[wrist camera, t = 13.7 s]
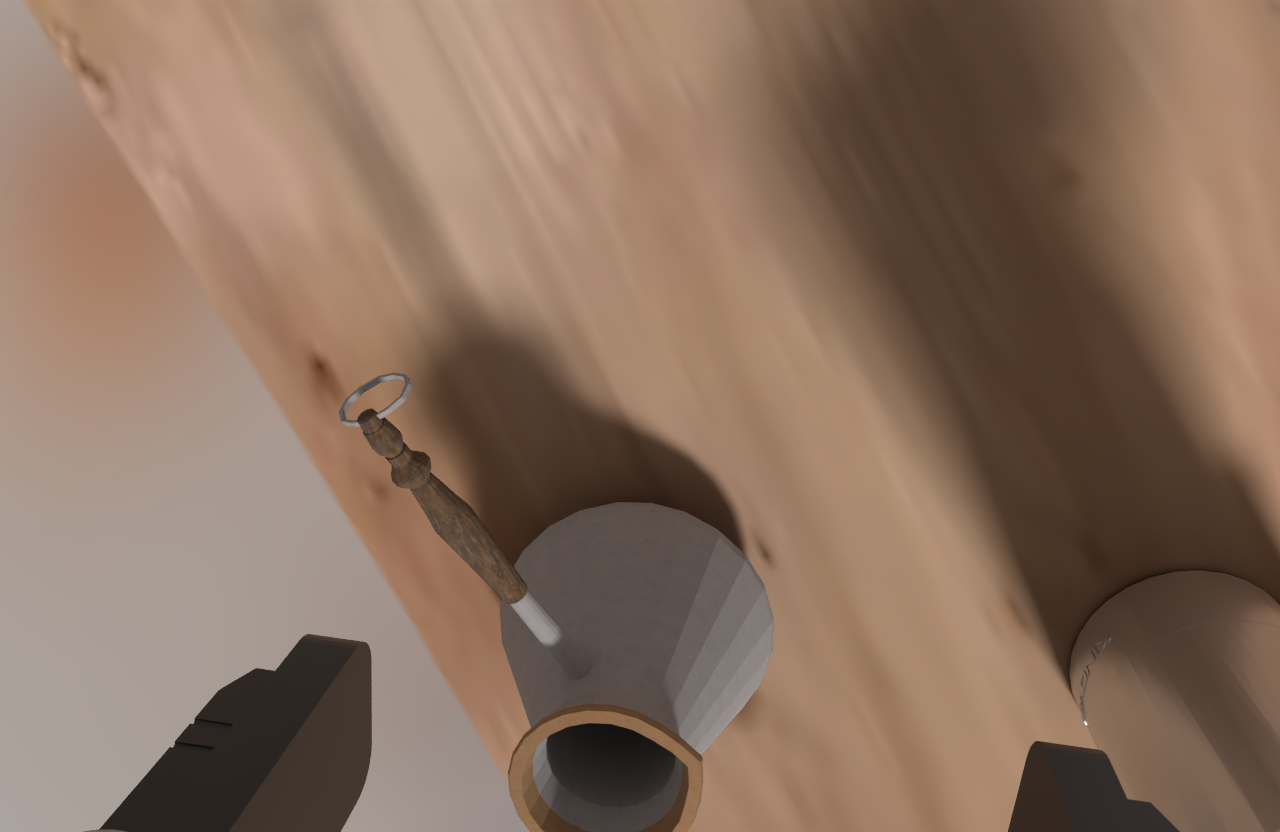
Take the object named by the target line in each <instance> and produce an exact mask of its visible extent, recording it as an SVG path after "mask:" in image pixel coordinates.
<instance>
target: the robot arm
mask: <svg viewBox="0 0 1280 832" xmlns="http://www.w3.org/2000/svg"><path fill="white" fill-rule="evenodd" d="M1069 674H1070V682H1071V689H1072V693H1073V695H1074V698H1075V700H1076V703H1077V705H1078V708H1079V710H1080V712H1081V714H1082V718H1083V721H1084V723H1085V725H1086V726H1087V727H1088V729H1089V731H1090V733H1091V736H1092V738H1093V740H1094V742H1095V744H1096V746H1097V748H1098V750H1096V749H1089V748H1082V747H1075V746H1068V745H1061V744H1054V743H1047V742H1040V741H1036V742H1034V743H1033V744H1032V746H1031V748H1030V750H1029V752H1028V755H1027V759H1026V762H1025V766H1024V770H1023V774H1022V778H1021V782H1020V786H1019V790H1018V794H1017V798H1016V802H1015V806H1014V810H1013V814H1012V818H1011V822H1010V825H1009V829H1008V832H1280V605H1279V604H1278V603H1277V602H1276V601H1275V600H1274V599H1273V598H1272V597H1271V596H1270V595H1269V594H1268V593H1267V592H1266V591H1264V590H1262V589H1260V588H1259V587H1257V586H1255V585H1253V584H1252V583H1250V582H1248V581H1247V580H1243V579H1240V578H1237V577H1234V576H1231V575H1228V574H1225V573H1218V572H1210V571H1202V570H1195V571H1178V572H1171V573H1167V574H1163V575H1159V576H1154V577H1150V578H1148V579H1146V580H1143V581H1141V582H1138V583H1136V584H1134V585H1131V586H1129V587H1127V588H1126V589H1124V590H1123V591H1121V592H1119V593H1118V594H1116V595H1115V596H1113V597H1112V598H1110V599H1109V600H1107V601H1106V602H1105V603H1104V604H1103V605H1102V606H1101V607H1100V608H1099V609H1098V610H1097V611H1096V612H1095V613H1094V614H1093V615H1092V616H1091V617H1090V619H1089V620H1088V622H1087V623H1086V625H1085V626H1084V628H1083V629H1082V631H1081V632H1080V633H1079V636H1078V638H1077V641H1076V643H1075V646H1074V648H1073V651H1072V655H1071V663H1070V670H1069ZM371 714H372V713H371V652H370V648H369V645H368V644H367V643H366V642H360V641H353V640H346V639H339V638H333V637H326V636H319V635H311V634H307V635H305V636H303V637H302V638H301V640H299V642H298V643H297V644H296V646H295V647H294V648H293V649H292V651H291V652H290V653H289V654H288V656H287V657H286V658H285V659H284V661H283V662H282V663H281V665H280V666H279V667H278V668H277V669H276V671H271V670H265V669H257V668H256V669H254V670H252V671H251V672H249V673H247V674H246V675H244V676H242V677H241V678H239V679H237V680H235V681H234V682H232V683H230V684H229V685H227V686H225V687H223V688H222V689H220V690H219V691H218V692H217V693H216V694H215V695H214V697H213V698H212V699H211V700H210V701H209V702H208V704H207V705H206V706H205V707H204V708H203V709H202V710H201V712H200V713H199V714H198V715H197V716H196V718H195V722H194V724H189V726H188V727H187V728H186V729H185V730H184V731H183V733H182V734H181V735H180V736H179V737H178V738H177V740H176V741H175V745H174V747H173V748H171V747H170V748H169V749H168V750H167V751H166V752H165V754H164V755H163V756H162V757H161V758H160V759H159V761H158V762H157V763H156V764H155V765H154V766H153V768H152V769H151V770H150V771H149V772H148V774H147V775H146V776H145V777H144V778H143V779H142V780H141V781H140V783H139V784H138V785H137V786H136V787H135V789H134V790H133V791H132V792H131V793H130V794H129V795H128V797H127V798H126V799H125V800H124V801H123V802H122V804H121V805H120V806H119V807H118V808H117V809H116V811H115V812H114V813H113V814H112V815H111V816H110V818H109V819H108V820H107V821H106V822H105V823H104V825H103V826H102V827H101V828H100V829H99V830H92V831H85V832H341V830H342V828H343V826H344V825H345V823H346V821H347V819H348V817H349V815H350V814H351V812H352V810H353V808H354V806H355V805H356V803H357V801H358V799H359V797H360V795H361V792H362V789H363V787H364V784H365V781H366V777H367V773H368V769H369V764H370V757H371V746H372V745H371V744H372V738H371V737H372V733H371V732H372V729H371V727H372V726H371V725H372V724H371V722H372V720H371V718H372V717H371V716H372V715H371Z"/></svg>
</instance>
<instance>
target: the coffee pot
mask: <svg viewBox="0 0 1280 832" xmlns="http://www.w3.org/2000/svg"><path fill="white" fill-rule="evenodd" d="M394 379H398V380H405V383H406V385H405V387H404V389H403V391H402V393H401V395H400V397H399V398H397V399H396V400H395V401H394V402H393V403H391V404H390V405H389V406H388V407H387V408H385V409H383V410H382V411H380V412H378V413H377V412H376V411H375V410H374V409H367V410H365V411H364V412H362V413H361V414H360V415H359V417H358V419H357V420H355V421H353V420H346V416H345V414H346V412H347V410H348V409H349V407H350V405H351V403H352V402H354V401H355V400H356V399H357V398H358V397H359V396H360V395H362V394H363V393H364V392H365V391H367V390H369V389H370V388H372V387H374V386H375V385H377V384H379V383H381V382H385V381H390V380H394ZM411 388H412V386H411V383H410V380H409V378H408V377H407V376H406V375H405V374H399V373H391V374H386V375H382V376H378V377H376V378H374V379H372V380H371V381H369V382H367V383H366V384H364V385H362V386H361V387H359V388H358V389H357V390H356V391H355V392H354V393H352V394H351V395H350V396H349V397H348V398H347V399H346V400H345V402H344V404H343V405H342V407H341V409H340V411H339V414H340V418H341V422H342V423H343V424H344V425H346V426H352V427H359V426H360V427H361V428H362V430H363V434H364V436H365V437H366V439H367V441H368V442H369V444H370V445H371V447H372V449H373V450H374V451H375V452H376V453H377V454H379V455H381V456H384V457H385V458H386V459H387V460H388V462H389V463H390V464H391V465H392V471H391V477H392V481H393V482H394V483H395V484H396V486H398V487H401V488H410V490H411V491H412V493H413V494H414V496H415V498H416V499H417V501H418V503H419V504H420V506H421V507H422V509H423V511H424V512H425V514H426V515H427V517H428V519H429V520H430V522H431V524H432V526H433V528H434V530H435V531H436V532H437V534H438V535H439V536H440V537H441V538H442V539H443V540H444V541H445V542H446V543H447V544H448V545H449V546H450V547H451V548H452V549H453V550H454V551H455V552H456V553H457V554H458V555H459V556H460V557H461V558H462V559H463V560H464V561H465V562H466V563H467V564H468V565H469V566H470V567H471V568H472V569H473V570H474V571H475V572H476V573H477V574H478V575H479V576H480V577H481V578H482V579H483V580H484V581H485V582H486V583H487V584H488V585H489V586H490V587H491V588H492V589H493V590H494V591H495V592H496V593H497V594H498V595H499V596H500V597H501V598H502V603H501V607H500V618H501V631H502V643H503V646H504V649H505V652H506V655H507V658H508V661H509V664H510V667H511V670H512V673H513V676H514V679H515V681H516V684H517V687H518V690H519V693H520V696H521V699H522V702H523V705H524V708H525V711H526V714H527V717H528V720H529V723H530V726H531V729H530V730H529V731H528V732H526V733H525V734H524V736H523V737H522V739H521V740H520V742H519V744H518V745H517V747H516V748H515V750H514V751H513V754H512V758H511V763H510V767H509V771H508V776H509V789H510V796H511V799H512V801H513V804H514V806H515V809H516V811H517V814H518V816H519V817H520V819H521V820H522V821H523V822H524V824H525V825H526V827H527V828H528V829H529V831H530V832H687V831H688V830H689V828H690V827H691V826H692V824H693V823H694V820H695V817H696V814H697V811H698V808H699V805H700V802H701V794H702V786H703V758H702V756H701V754H702V753H703V752H704V751H705V749H706V748H707V747H708V746H709V745H710V744H711V743H712V742H713V741H714V739H715V738H716V737H717V736H718V735H719V734H720V733H721V732H722V731H723V729H724V728H725V727H726V726H727V725H728V724H729V723H730V722H731V720H732V719H733V718H734V717H735V716H736V715H737V714H738V713H739V712H740V710H741V709H742V708H743V707H744V706H745V704H746V703H747V701H748V700H749V699H750V697H751V696H752V695H753V693H754V692H755V690H756V689H757V688H758V686H759V685H760V684H761V682H762V679H763V676H764V673H765V670H766V667H767V664H768V662H769V659H770V656H771V653H772V650H773V615H772V611H771V608H770V604H769V601H768V597H767V593H766V590H765V586H764V584H763V582H762V581H761V579H760V578H759V576H758V574H757V573H756V571H755V570H754V568H753V566H752V565H751V563H750V562H749V560H748V558H747V557H746V555H745V554H744V553H743V552H742V551H741V550H740V549H739V548H737V547H736V546H735V545H734V544H733V543H732V542H731V541H730V540H729V539H728V538H727V537H726V536H725V535H723V534H722V533H721V532H720V531H719V530H717V529H716V528H714V527H712V526H711V525H709V524H707V523H705V522H703V521H701V520H700V519H698V518H696V517H694V516H692V515H690V514H689V513H687V512H685V511H681V510H677V509H673V508H670V507H666V506H662V505H658V504H655V503H639V502H615V503H611V504H606V505H602V506H597V507H593V508H588V509H584V510H579V511H578V512H576V513H574V514H572V515H570V516H568V517H566V518H564V519H562V520H560V521H558V522H556V523H554V524H552V525H550V526H549V527H548V528H547V529H546V530H545V531H543V532H542V533H541V534H540V535H539V536H538V537H537V538H536V539H535V540H534V541H533V542H532V543H531V544H530V545H529V546H527V547H526V548H525V549H524V550H523V552H522V553H521V555H520V557H519V558H518V560H517V562H516V564H515V565H514V566H513V565H512V564H511V562H510V561H509V559H508V558H507V557H506V555H505V554H504V553H503V551H502V550H501V548H500V547H499V546H498V544H497V543H496V541H495V540H494V539H493V537H492V536H491V534H490V533H489V532H488V530H487V529H486V527H485V526H484V525H483V523H482V522H481V520H480V519H479V518H478V516H477V515H476V513H475V512H474V511H473V509H472V508H471V507H470V506H469V505H468V504H467V503H466V502H465V501H464V500H462V499H461V498H460V497H458V496H457V495H456V494H455V493H454V492H453V491H451V490H450V489H449V488H448V487H447V486H446V485H445V484H444V483H442V482H441V481H440V480H439V479H438V478H437V477H436V476H434V475H433V474H432V473H431V472H430V471H431V461H430V458H429V456H428V455H427V454H426V453H425V452H419V451H411V450H410V449H409V448H408V446H407V445H406V444H405V443H404V442H403V438H402V434H401V432H400V431H399V430H398V429H397V428H396V427H395V426H394V425H393V424H391V423H390V422H389V421H388V420H387V419H386V418H385V416H387V415H389V414H390V413H392V412H393V411H394V410H395V409H396V408H398V407H399V406H400V405H401V404H402V403H403V402H405V401H406V399H407V397H408V395H409V393H410V391H411Z"/></svg>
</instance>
